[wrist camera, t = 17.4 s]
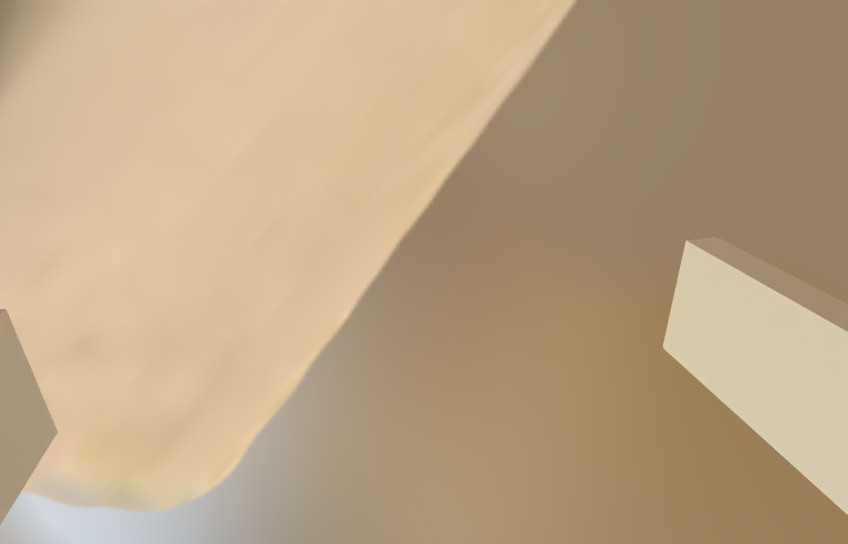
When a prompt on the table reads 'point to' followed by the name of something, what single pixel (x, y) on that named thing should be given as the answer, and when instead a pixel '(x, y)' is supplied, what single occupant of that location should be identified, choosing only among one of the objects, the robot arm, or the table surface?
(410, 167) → the table surface
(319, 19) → the table surface
